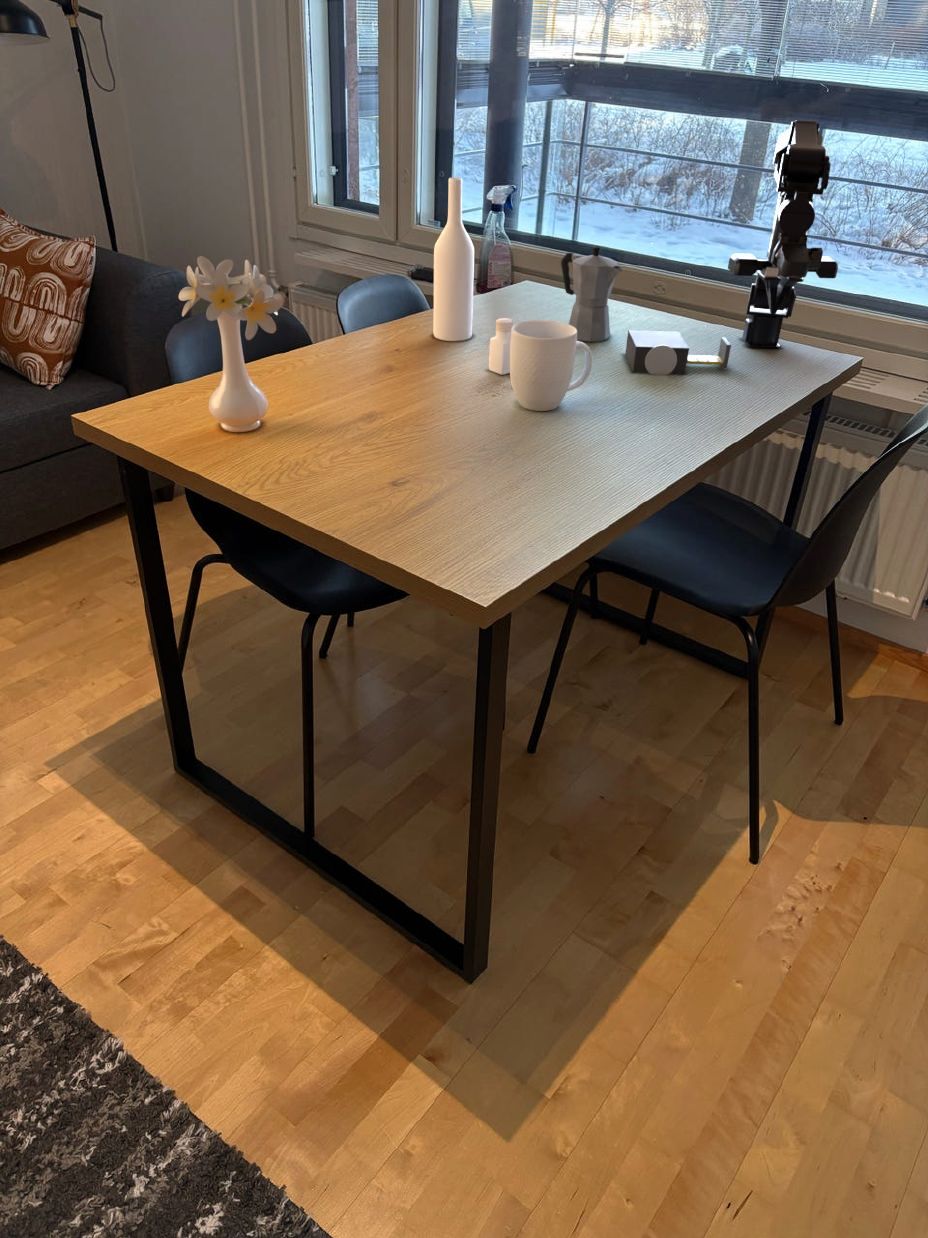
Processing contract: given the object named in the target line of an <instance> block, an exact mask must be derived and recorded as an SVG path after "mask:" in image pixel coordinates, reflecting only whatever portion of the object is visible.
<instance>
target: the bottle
mask: <svg viewBox="0 0 928 1238" xmlns="http://www.w3.org/2000/svg"><path fill="white" fill-rule="evenodd" d="M447 199H448V201H447V202H448V203H447V222H446V224H445V226H444V228H443V230H442V231H441V233H440V235H439V237H438V238H437V240H436V242H435V244H434V248H433V318H432V319H433V330H432V331H433V337H434V338H435V339H438V340H441V341H445V342H446V341H447V342H462V341H467V340H469V339H471V338H472V335H473V315H474V314H473V310H474V309H473V308H474V280H475V279H474V278H475V247H474V244H473V241H472V239H471V237H470V236H469V234H468V232H467V230H466V227H465V226H464V223H463V178H461V177H449V178H448V198H447Z"/></svg>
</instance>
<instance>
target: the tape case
mask: <svg viewBox="0 0 928 1238" xmlns="http://www.w3.org/2000/svg"><path fill="white" fill-rule="evenodd" d="M689 352H690V347H689V345H688V344H687V343H686V341H685V340H684V338H683V336H682V335H681V333H680V332H679V331H673V330H672V331H671V330H670V331H669V330H641V329H640V330H637V329H631V330H630V329H628V330H627V337H626V346H625V353H624V355H625V358H626V360H627V363H628V365H629V368H630V369H631V372H632V374H650V375H663V376H664V375H665V376H667V375H686V370H687V365H688V364H687V359H688V355H689Z"/></svg>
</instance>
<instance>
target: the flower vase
mask: <svg viewBox="0 0 928 1238" xmlns="http://www.w3.org/2000/svg"><path fill="white" fill-rule="evenodd" d="M196 262H197V266H196V267H195V270H194V271H193V268H192V267H191V265H188V266H187V267H186V280H187V283H188V285H189V286H185V287H183V288H181V290H180V291H179V294H178V299H179V301H182V302H184V301H186V303H185V304H184V305H183V309H182V312H181V316H182V317H184V316H186V314H187V313H188V312H189V311H190V309H191V308H192V307H193V306H194V305H195V304H196V303H197V302H198V301H199V300H201V299H203V300H204V301H207V302H209V303H210V304H209V305H208V307H207V309H206V314H205V316H206V320H208V321H210V322H214V321H216V320H217V324H218V328H219V334H220V343H221V355H222V373H221V378H220V381H219V384H218V385H217V387H216V388H215V389H214V390H213V392H212V393H211V395H210V396H209V399H208V405H207V406H208V407H207V408H208V411H209V413H210V415H211V416H212V417H213V418H214V419H215V421H217V422H219V423H220V427H221V428H222V429H223V430H225V431H227V432H230V433H246V432H251V431H254V430H257V429H258V428H259V427H260V425H261V420H262V419H263V418H264V417H265V416H266V415H267V412H268V410H269V408H270V407H269V401H268V398H267V396H266V394H265V393H264V392H263V391H262V389H261V388H260V387H258V386H257V385H256V384H255V383H254V382H253V380H252V379H251V377H250V375H249V373H248V371H247V368H246V363H245V358H244V351H243V344H242V335H241V321H246V327H245V332H244V333H245V334H244V335H245V339H246V340H247V341H251V340H252V339H253V338H255V336H256V334H257V332H258V329H259V327H260V328H261V329H262V330H263V331H264V332H266V333H268V334H274V333H275V332H276V331H277V325H276V322H275V321H274V319H273V317H271V316H270V315H269V314H274V315H275V316H278V315H279V313H278V311H279V310H280V309H281V308H282V307H283V305H284V301H283V300H282V299H281V298H280V299H271V298H272V297H273V296H274V294H275V293H274V290H273V288H272V287H271V285H268V284H267V278H266V276H265V275H264V274H262V273H260V270H259V268H258V266H257V265H255V264H254V265H253V268H252V265H251V263H250V261H249V260H248V259H245V260H244V274H241V275H237V276H234V277H232V276H229V274H230V273H231V271H232V270H233V266H234V262H233V260H232V259H228V258H227V259H224V260H222V261H221V262H220V263H218V265H217V266H216V268H215V266H214V265H213V264H212V262H211V261H210V260H209V259H208V258H207V257H205V256H202V255H200V256H198V257H197V259H196ZM199 269H200V271H201V273H202V274H201V273H200V271H199ZM241 282H242V283H241ZM270 299H271V300H270ZM249 300H251V301H252V302H251V303H249V302H247V301H249ZM243 305H244V306H246V307H244V306H243Z"/></svg>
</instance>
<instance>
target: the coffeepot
mask: <svg viewBox="0 0 928 1238" xmlns="http://www.w3.org/2000/svg"><path fill="white" fill-rule="evenodd" d="M601 248H602V247H601V246H599V245H594V246H592V254H590V255H586V256H585V255H584V256H583V255H582V254H578V253H574V252H566V254H564V256H563V257H562V259H561V260H560V266H561V267H560V268H561V271H562V278H563V284H564V289H565V293H566V294H568V295H570V296H573V295H575V301H574V303H573V305H572V309H571V313H570V317H569V322H568V324H569V325H571V326H573V327H575V328H576V329H577V341H580V342H588V343H589V342H591V343H593V342H594V343H595V342H602V341H606V340H607V339H609V337H610V335H611V329H610V311H609V309H610V308H609V305H608V303H609V297H610V296H611V294H612V290H613V287H614V282H615V279H616V277H617V276H618V275H619V273H621V272H622V271H623V268H622V267H621V266H620V265H619V261H616V260H614V259H612V258H610V257H606V256H603V255H600V253H601V250H602V249H601ZM570 263H571V264H572V279H571V276H570V266H569V265H570ZM571 280H573V289H572V288H571V282H572V281H571Z"/></svg>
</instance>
